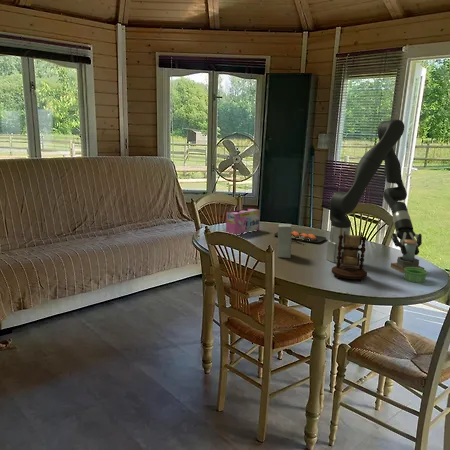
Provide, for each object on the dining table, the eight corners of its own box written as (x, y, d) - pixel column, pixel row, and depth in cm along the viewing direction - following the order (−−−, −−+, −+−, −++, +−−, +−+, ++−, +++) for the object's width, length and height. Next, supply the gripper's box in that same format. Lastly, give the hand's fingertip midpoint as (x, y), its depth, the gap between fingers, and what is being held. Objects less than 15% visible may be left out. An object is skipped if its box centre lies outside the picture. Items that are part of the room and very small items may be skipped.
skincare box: (290, 258, 200) (292, 227, 196) (275, 257, 201) (277, 226, 198) (291, 253, 208) (293, 223, 204) (277, 252, 209) (278, 222, 206)
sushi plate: (327, 240, 239) (328, 234, 238) (308, 252, 214) (309, 245, 213) (282, 233, 254) (282, 227, 253) (259, 243, 229) (259, 236, 228)
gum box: (251, 228, 262) (252, 207, 259) (260, 230, 257) (261, 209, 254) (225, 234, 246) (226, 211, 243) (235, 236, 240) (235, 213, 237)
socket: (406, 274, 181) (407, 263, 180) (390, 267, 190) (391, 257, 189) (423, 272, 185) (425, 261, 184) (407, 265, 194) (408, 255, 193)
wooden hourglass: (364, 272, 182) (369, 229, 178) (368, 284, 168) (373, 237, 164) (330, 269, 185) (334, 226, 181) (331, 280, 171) (335, 234, 167)
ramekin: (428, 279, 175) (430, 270, 174) (422, 285, 169) (423, 275, 168) (407, 274, 181) (408, 265, 180) (400, 279, 175) (401, 270, 174)
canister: (407, 263, 183) (410, 242, 181) (398, 260, 188) (401, 239, 186) (417, 262, 185) (419, 241, 183) (408, 259, 190) (410, 238, 188)
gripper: (390, 217, 190) (398, 249, 181) (420, 218, 190) (430, 250, 181) (384, 226, 196) (392, 257, 187) (414, 226, 196) (423, 258, 187)
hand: (410, 254), depth 184 cm, fingers closed on canister, 5 cm apart
